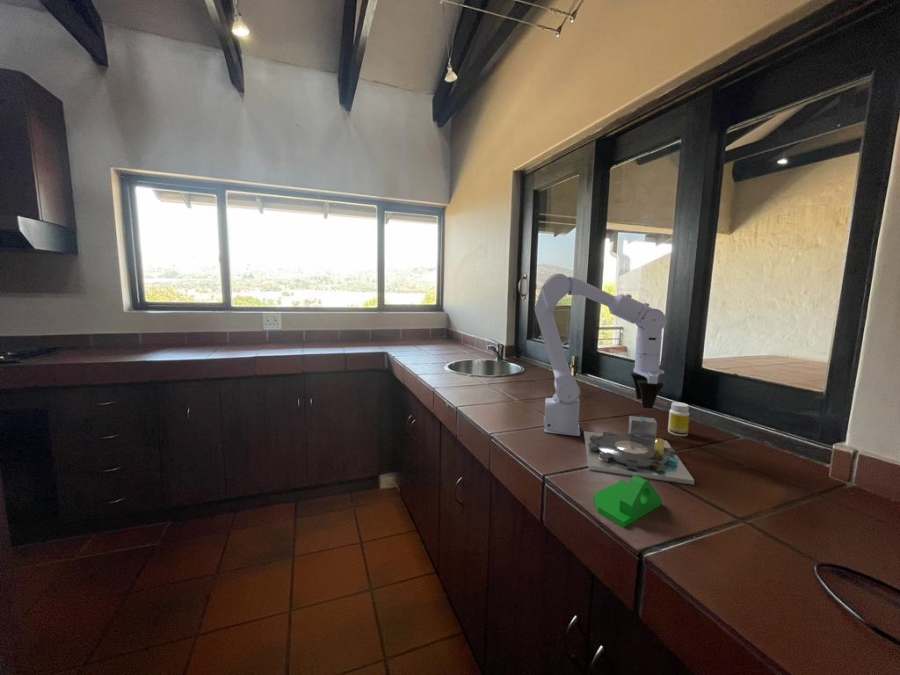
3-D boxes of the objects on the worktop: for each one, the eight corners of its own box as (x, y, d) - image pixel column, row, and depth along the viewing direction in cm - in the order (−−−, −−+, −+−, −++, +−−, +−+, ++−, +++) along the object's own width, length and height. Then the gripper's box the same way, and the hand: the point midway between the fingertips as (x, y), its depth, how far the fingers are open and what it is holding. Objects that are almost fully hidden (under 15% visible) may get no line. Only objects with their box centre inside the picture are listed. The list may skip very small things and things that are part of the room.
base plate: (588, 469, 76) (589, 465, 76) (583, 434, 95) (583, 430, 95) (694, 485, 70) (694, 480, 70) (666, 444, 89) (666, 440, 89)
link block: (630, 438, 93) (631, 419, 93) (628, 433, 97) (629, 415, 96) (655, 440, 91) (657, 422, 91) (652, 435, 95) (653, 417, 94)
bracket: (621, 486, 70) (623, 454, 70) (661, 506, 64) (664, 471, 63) (583, 505, 64) (585, 471, 63) (623, 529, 58) (625, 491, 57)
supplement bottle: (691, 437, 93) (694, 407, 92) (671, 436, 94) (674, 406, 93) (683, 430, 98) (685, 402, 97) (664, 429, 99) (667, 401, 98)
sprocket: (643, 479, 70) (645, 454, 69) (572, 444, 86) (573, 423, 86) (695, 458, 79) (697, 435, 78) (621, 429, 95) (622, 411, 94)
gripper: (673, 359, 83) (669, 413, 85) (657, 349, 97) (654, 396, 98) (640, 357, 85) (637, 410, 87) (629, 348, 99) (626, 394, 101)
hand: (644, 403), depth 93 cm, fingers open, 7 cm apart
